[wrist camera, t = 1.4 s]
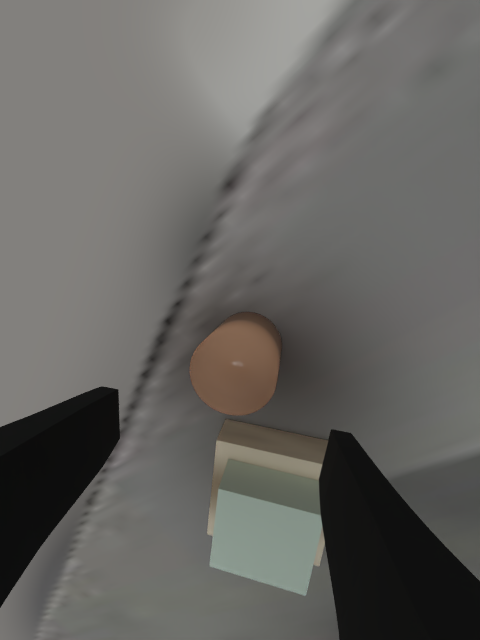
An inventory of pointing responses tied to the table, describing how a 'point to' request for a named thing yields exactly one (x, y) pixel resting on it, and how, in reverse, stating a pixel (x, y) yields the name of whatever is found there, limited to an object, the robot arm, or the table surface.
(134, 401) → the table surface
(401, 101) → the table surface
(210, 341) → the terracotta cylinder
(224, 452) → the tower base
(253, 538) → the tower top
